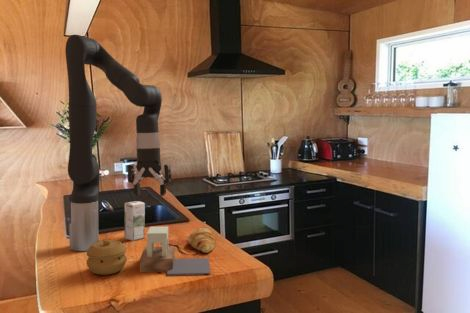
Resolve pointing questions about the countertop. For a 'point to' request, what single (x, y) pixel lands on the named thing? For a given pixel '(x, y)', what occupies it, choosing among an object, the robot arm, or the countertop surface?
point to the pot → (106, 257)
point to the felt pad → (190, 267)
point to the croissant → (202, 239)
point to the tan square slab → (157, 260)
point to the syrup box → (134, 220)
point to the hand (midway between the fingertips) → (150, 195)
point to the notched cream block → (157, 239)
